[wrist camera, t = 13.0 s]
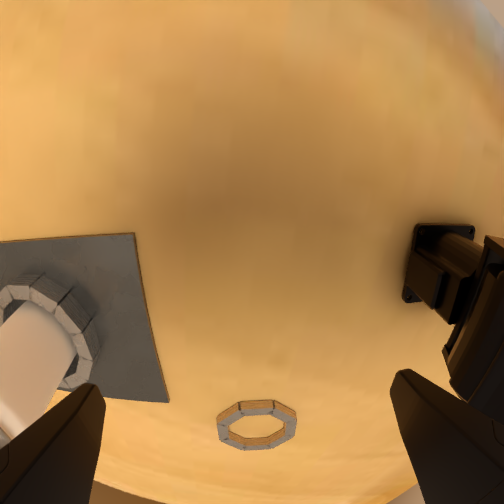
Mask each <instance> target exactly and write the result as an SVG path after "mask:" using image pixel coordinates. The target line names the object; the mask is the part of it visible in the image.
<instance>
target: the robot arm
mask: <svg viewBox="0 0 504 504" xmlns="http://www.w3.org/2000/svg"><path fill="white" fill-rule="evenodd" d="M421 229H422V232H421V233H420V230H421ZM469 231H470V232H469ZM474 234H475V227H474V226H472V225H470V224H418V225H416V227H415V229H414V236H413V242H412V248H411V253H410V257H409V262H408V268H407V273H406V278H405V286H404V290H403V295H402V299H403V300H404V301H405V302H406V303H414V302H421V301H423V302H424V303H425V304H426V305H427V306H428V307H429V308H430V309H432V310H433V309H434V310H435V311H436V312H437V313H438V314H439V315H440V316H441V317H442V318H443V319H444V320H445V321H446V322H447V323H448V324H449V325H451V324H454V325H455V327H454V329H453V331H452V333H451V335H450V338H449V340H448V342H447V344H445V345H444V347H443V349H442V354H443V356H444V359H445V362H446V365H447V368H448V371H449V374H450V377H451V378H450V380H449V383H450V385H451V387H452V388H453V390H454V391H455V392H456V394H457V395H458V397H459V398H460V399H461V400H460V399H459V398H457V397H455V396H454V395H452V394H450V393H449V392H447V391H445V390H444V389H442V388H441V387H439V386H437V385H436V384H434V383H432V382H431V381H429V380H428V379H426V378H424V377H423V376H421V375H419V374H418V373H416V372H415V371H413V370H411V369H404V370H399V371H398V372H397V373H396V375H395V378H394V380H393V383H392V386H391V388H390V397H391V400H392V404H393V407H394V411H395V415H396V419H397V422H398V426H399V430H400V433H401V436H402V439H403V442H404V445H405V447H406V450H407V452H408V455H409V458H410V461H411V463H412V466H413V469H414V472H415V474H416V477H417V480H418V483H419V486H420V489H421V491H422V495H423V498H424V501H425V504H504V239H503V238H498V237H494V236H489V235H486V236H485V239H484V247H482V246H480V245H478V244H477V243H475V242H473V239H474ZM409 295H410V296H409ZM408 296H409V297H408ZM407 297H408V298H407ZM105 411H106V403H105V400H104V398H103V396H102V394H101V392H100V390H99V388H98V386H97V385H96V384H92V383H83V384H82V385H80V386H79V387H78V388H77V389H75V390H74V391H73V392H72V393H70V394H69V395H68V396H66V397H65V398H64V399H63V400H61V401H60V402H59V403H58V404H56V405H55V406H54V407H53V408H51V409H50V410H49V411H48V412H46V413H45V414H44V415H43V416H41V417H40V418H39V419H38V420H36V421H35V422H34V423H32V424H31V425H30V426H29V427H27V428H26V429H25V430H24V431H22V432H21V433H20V434H19V435H17V436H16V437H15V438H14V439H12V440H11V441H10V442H9V443H7V444H6V445H5V446H3V447H2V448H1V449H0V504H89V499H90V493H91V489H92V483H93V479H94V474H95V470H96V465H97V461H98V457H99V452H100V447H101V440H102V432H103V424H104V417H105Z"/></svg>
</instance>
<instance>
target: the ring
mask: <svg viewBox="0 0 504 504" xmlns="http://www.w3.org/2000/svg"><path fill="white" fill-rule="evenodd" d="M269 414H270V415H272V416H274V417H276V418H278V419H280V420H282V421H284V428H283V429H281V430H280V431H278V432H276V433H274V434H273V435H271V436H269V437H267V438H251V439H245V438H243V437H241V436H239V435H236V434H234V433H232V432H230V431H229V425H230V424H232V423H234V422H235V421H237V420H239V419H240V418H242V417H243V416H253V415H269ZM296 423H297V418H296V413H295V411H293V410H291V409H289V408H287V407H286V406H284V405H282V404H280V403H278V402H277V401H275V400H274V401H273V402H272V400H262V401H242V402H240V403H239V402H238V403H236V404H235V405H233V406H232V407H230V408H229V409H227V410H226V411H224V412H223V413H221V414H219V415H218V417H217V429H218V435H219V440H221V442H224V443H226V444H228V445H230V446H233V447H235V448H237V449H240V450H244V451H245V450H264V449H271V448H275V447H276V446H278V445H280V444H282V443H284V442H285V441H287V440H289V439H291V438H293V436H294V435H295V429H296Z"/></svg>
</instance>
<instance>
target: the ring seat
mask: <svg viewBox="0 0 504 504" xmlns="http://www.w3.org/2000/svg"><path fill="white" fill-rule="evenodd" d="M27 300H32V301H33V302H35V303H36V304H38V305H39V306H41V307H43V308H44V309H46V310H47V311H49V312H51V313H52V314H53V315H54V316H55V317H56V318H57V320H58V321H59V322H60V323H61V324H62V325H63V327H64V328H65V329H66V330H67V331H68V332H69V334H70V335H71V337H72V339H73V342H74V345H75V347H76V350H77V354H76V355H75V357H74V359H73V361H72V363H71V364H70V366H69V368H68V370H67V371H66V373H65V375H64V377H63V378H62V380H61V382H60V384H59V386H58V387H57V389H58V390H63V391H68V392H73V391H74V390H75V389H77V388H78V387H79V386H80V385H82V384H83V383H92V384H96V385H97V386H98V388H99V390H100V392H101V394H102V396H103V397H108V398H116V399H125V400H135V401H147V402H162V403H169V401H170V399H169V396H168V392H167V389H166V385H165V382H164V378H163V374H162V370H161V367H160V363H159V359H158V355H157V351H156V347H155V342H154V338H153V334H152V329H151V325H150V320H149V315H148V311H147V306H146V301H145V295H144V290H143V285H142V279H141V273H140V267H139V261H138V255H137V248H136V241H135V234H134V233H120V234H103V235H86V236H71V237H56V238H42V239H29V240H16V241H4V242H0V327H1V326H2V325H3V323H4V322H5V321H6V320H7V319H8V318H9V317H10V316H11V315H12V314H13V313H14V312H15V311H16V310H17V309H18V308H19V307H20V306H21V305H22V304H23V303H25V302H26V301H27Z"/></svg>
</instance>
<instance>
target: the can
mask: <svg viewBox="0 0 504 504" xmlns="http://www.w3.org/2000/svg"><path fill="white" fill-rule="evenodd" d="M76 354H77V350H76V347H75V345H74V342H73V339H72V337H71V335H70V334H69V332H68V331H67V330H66V329H65V328H64V327H63V325H62V324H61V323H60V322H59V321H58V320H57V318H56V317H55V316H54V315H53V314H52V313H51V312H49V311H47V310H46V309H44V308H43V307H41V306H39V305H38V304H36V303H35V302H33V301H32V300H27V301H26V302H25V303H23V304H22V305H21V306H20V307H19V308H18V309H17V310H16V311H15V312H14V313H13V314H12V315H11V316H10V317H9V318H8V319H7V320H6V321H5V322H4V323H3V325H2V326H1V327H0V449H1V448H2V447H3V446H5V445H6V444H7V443H9V442H10V441H11V440H12V439H14V438H15V437H16V436H17V435H19V434H20V433H21V432H22V431H24V430H25V429H26V428H27V427H29V426H30V425H31V424H32V423H34V422H35V421H36V420H38V419H39V418H40V417H41V416H43V414H44V412H45V410H46V408H47V406H48V404H49V402H50V400H51V399H52V397H53V395H54V393H55V391H56V389H57V387H58V386H59V384H60V382H61V380H62V378H63V377H64V375H65V373H66V371H67V370H68V368H69V366H70V364H71V363H72V361H73V359H74V357H75V355H76Z"/></svg>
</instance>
